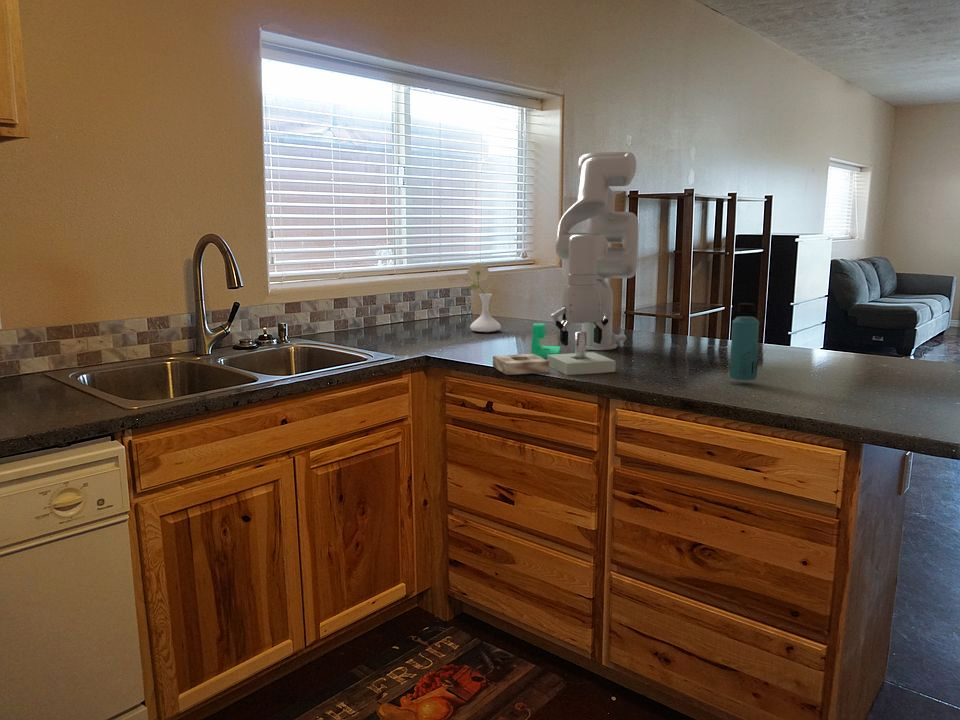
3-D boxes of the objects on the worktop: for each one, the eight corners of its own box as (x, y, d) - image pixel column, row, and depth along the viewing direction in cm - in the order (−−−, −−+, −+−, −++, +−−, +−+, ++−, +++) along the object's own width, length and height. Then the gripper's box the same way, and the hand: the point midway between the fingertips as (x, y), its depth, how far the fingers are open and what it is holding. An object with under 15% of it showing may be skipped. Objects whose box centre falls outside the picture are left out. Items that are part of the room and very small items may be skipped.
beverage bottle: (753, 387, 180) (758, 305, 176) (725, 384, 184) (729, 303, 180) (759, 382, 186) (764, 302, 182) (731, 379, 189) (736, 301, 185)
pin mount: (533, 364, 211) (533, 353, 211) (549, 372, 200) (549, 361, 199) (492, 366, 208) (492, 355, 207) (506, 374, 196) (506, 363, 196)
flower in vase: (505, 330, 276) (506, 262, 272) (493, 334, 266) (493, 264, 261) (473, 328, 282) (473, 261, 277) (460, 332, 271) (460, 263, 267)
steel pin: (583, 367, 206) (583, 331, 204) (587, 369, 203) (588, 332, 202) (573, 367, 205) (573, 331, 204) (577, 369, 203) (578, 333, 201)
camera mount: (557, 362, 215) (557, 326, 213) (531, 361, 216) (531, 326, 215) (560, 354, 227) (561, 321, 225) (535, 354, 228) (536, 320, 226)
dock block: (592, 362, 213) (593, 352, 212) (615, 371, 200) (615, 360, 199) (547, 365, 209) (547, 354, 209) (566, 375, 196) (567, 363, 195)
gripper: (605, 279, 206) (603, 340, 209) (546, 280, 201) (546, 343, 204) (617, 281, 199) (616, 344, 202) (557, 282, 194) (556, 347, 197)
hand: (580, 343), depth 203 cm, fingers open, 9 cm apart
